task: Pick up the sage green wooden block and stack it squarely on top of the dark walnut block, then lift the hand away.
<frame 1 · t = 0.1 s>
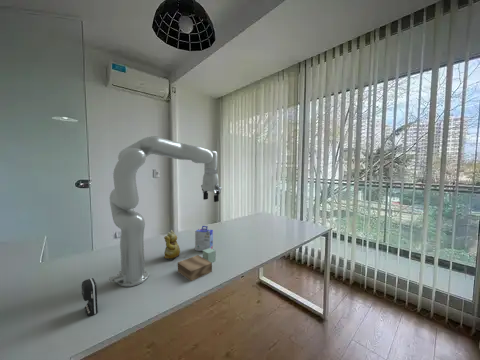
hand: (210, 200, 129), 31 cm above the table, tool pointing down, fingers open, 9 cm apart
walnut block: (194, 272, 107), on the table
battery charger: (90, 311, 78), on the table
ink cartridge box: (204, 249, 133), on the table
sage block: (209, 261, 118), on the table
decorative figurine: (172, 257, 122), on the table
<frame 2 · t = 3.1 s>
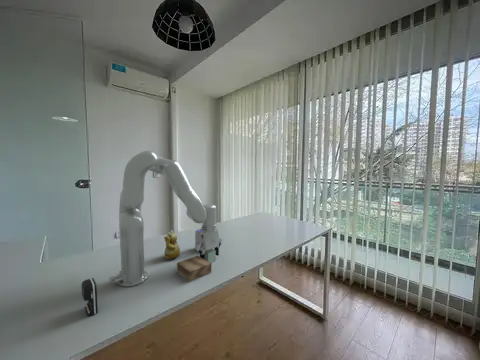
hand: (209, 257, 118), 2 cm above the table, tool pointing down, fingers open, 9 cm apart
nothing on the table moved.
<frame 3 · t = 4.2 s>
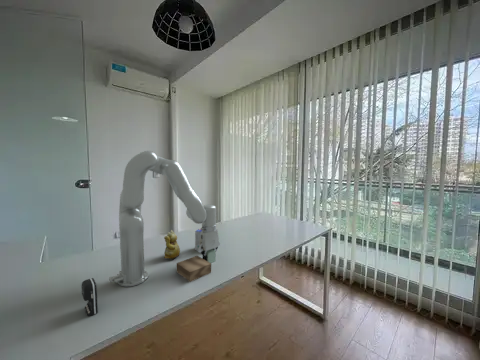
hand: (209, 259, 118), 1 cm above the table, tool pointing down, fingers closed on sage block, 4 cm apart
sage block: (209, 260, 118), on the table, touching gripper
everything else where it was.
when the fingers open (7 cm above the table, at t = 11.3 s): sage block drops 2 cm, resting on walnut block.
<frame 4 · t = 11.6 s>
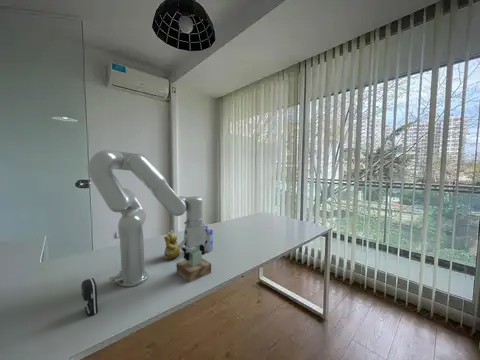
hand: (194, 256, 106), 8 cm above the table, tool pointing down, fingers open, 8 cm apart
walnut block: (193, 273, 106), on the table, touching sage block
sage block: (194, 263, 106), point 5 cm above the table, touching walnut block
everything else where it was.
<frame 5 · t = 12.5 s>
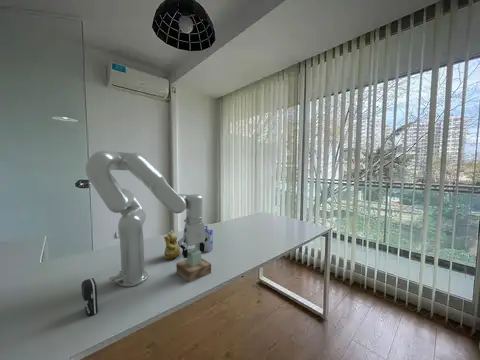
hand: (193, 254, 106), 9 cm above the table, tool pointing down, fingers open, 9 cm apart
walnut block: (193, 273, 106), on the table
sage block: (194, 263, 106), point 5 cm above the table
everything else where it was.
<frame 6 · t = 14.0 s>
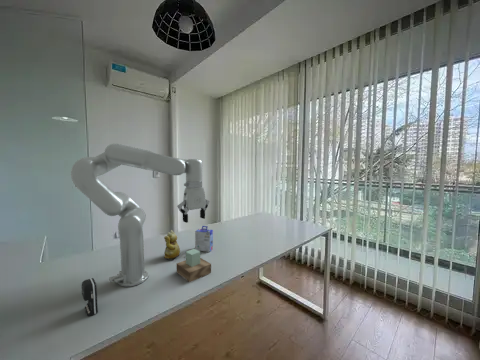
hand: (194, 220, 105), 26 cm above the table, tool pointing down, fingers open, 9 cm apart
walnut block: (193, 273, 106), on the table, touching sage block
sage block: (193, 263, 106), point 5 cm above the table, touching walnut block
everything else where it was.
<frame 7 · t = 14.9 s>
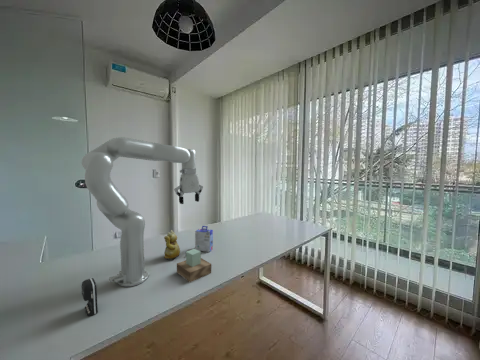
hand: (189, 202, 120), 31 cm above the table, tool pointing down, fingers open, 9 cm apart
walnut block: (194, 273, 106), on the table
sage block: (193, 263, 106), point 5 cm above the table
everything else where it was.
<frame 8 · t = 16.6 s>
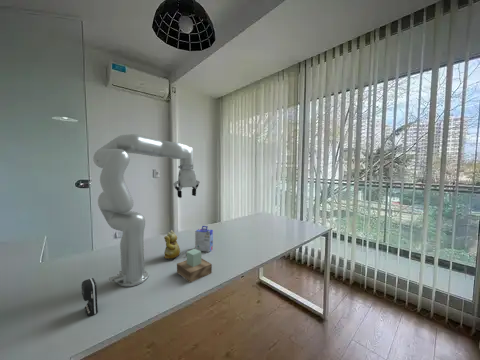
hand: (187, 196, 128), 33 cm above the table, tool pointing down, fingers open, 9 cm apart
walnut block: (194, 273, 106), on the table, touching sage block
sage block: (194, 263, 106), point 5 cm above the table, touching walnut block
everything else where it was.
at the end: sage block 0.3 cm off-centre on the walnut block, point 5.0 cm above the walnut block's base; sage block tilted 0°; the gripper is holding nothing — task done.
